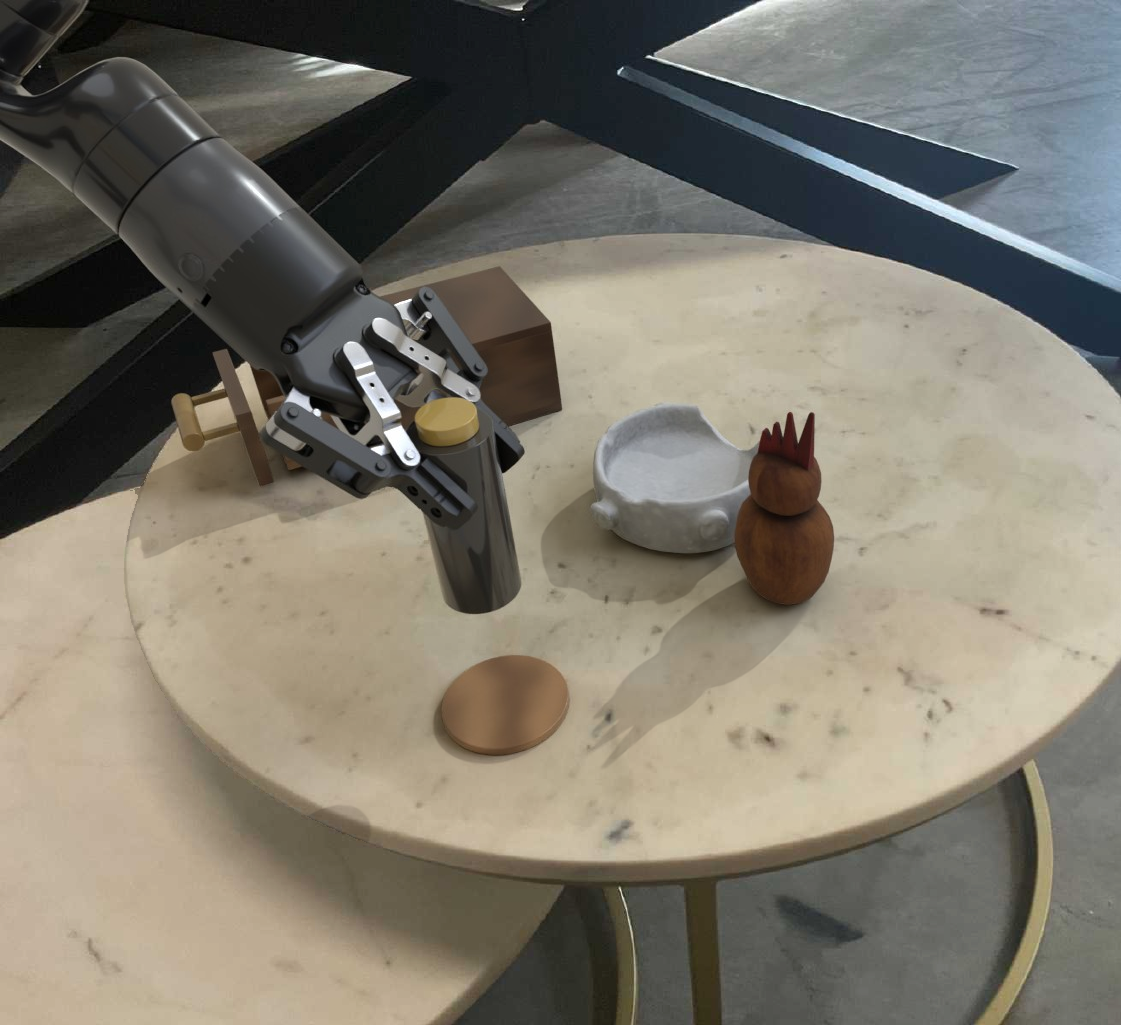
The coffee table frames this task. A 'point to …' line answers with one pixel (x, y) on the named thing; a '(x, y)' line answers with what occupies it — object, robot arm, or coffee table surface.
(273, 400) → the drawer
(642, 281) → the coffee table surface
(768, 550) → the wooden figurine
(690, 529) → the dish
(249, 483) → the coffee table surface
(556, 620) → the coffee table surface
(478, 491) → the cylinder
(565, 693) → the coaster
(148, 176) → the robot arm
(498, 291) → the cabinet
